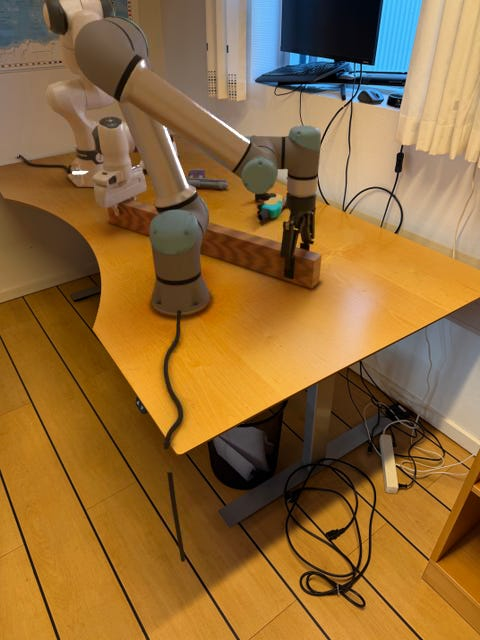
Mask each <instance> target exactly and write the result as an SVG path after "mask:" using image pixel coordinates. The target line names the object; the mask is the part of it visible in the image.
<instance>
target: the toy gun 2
mask: <svg viewBox="0 0 480 640" xmlns="http://www.w3.org/2000/svg"><path fill="white" fill-rule="evenodd" d="M254 200H255V202H259V201H260V202H259V203H258V204H257V205H256V208H257V211H256V215H257V220H258V221H259V222H261V223H263V222H264V221H266V220H267V219H268V218H271V219H274V218H277V217H279V216H280V215H281V214H282V209H283V208H284V207H286V196H285V197H284V195H282V194H280V193H274V192H271V193H269V192H266V193H262V194H255V193H254Z"/></svg>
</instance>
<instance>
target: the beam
mask: <svg viewBox="0 0 480 640" xmlns="http://www.w3.org/2000/svg"><path fill="white" fill-rule="evenodd" d="M117 208H118V209H119V210H121V213H122V214H121V215H120V216H116V215H115V213H114V210H113V209H112V208H111V207H109V208H107V209H106V210H107V213H108V219H109V223H110V224H113V225H116V226H119V227H122V228H124V229H127V230H130V231H134V232H137V233H140V234H142V235H145V236H149V233H150V223H151V221H152V220H153V219H154V218H155V217H156V216H157V215H158V212H157V210H156V208H155V206H154V205H152V204H148V203H145V202H140V201H137V200H136V201H134V200H130V198H129V199H127V200H125V201H122V202H120V203H118V207H117ZM281 244H282V242H280V241H277V240H273V239H269V238H266V237H262V236H259V235H255V234H252V233H248V232H245V231H243V230H238V229H234V228H232V227H227V226H224V225H220V224H217V223H214V222H210V221H209V223H208V227H207V229H206V232H205V235H204V238H203V241H202V244H201V247H200V254H204V255H207V256H210V257H213V258H216V259H219V260H222V261H225V262H228V263H231V264H234V265H238V266H241V267H243V268H246V269H250V270H253V271H255V272H259V273H262V274H264V275H268V276H271V277H274V278H276V279H280V280H282V281H286V282H289V283H292V284H295V285H299V286H301V287H304V288H307V289H311V290H312V289H314V288H315V286H317V285H318V284H319V283H320V276H321V266H322V253H318V252H314V251H311V250H309V251H308V250H305V249H301V248H300V247H298V246H296V248H295V252H294V256H293V257H295V268H294V279H293V280H292V279H289V278H286V277H284V264H285V259H284V258H281V257H280V252H281Z"/></svg>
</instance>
